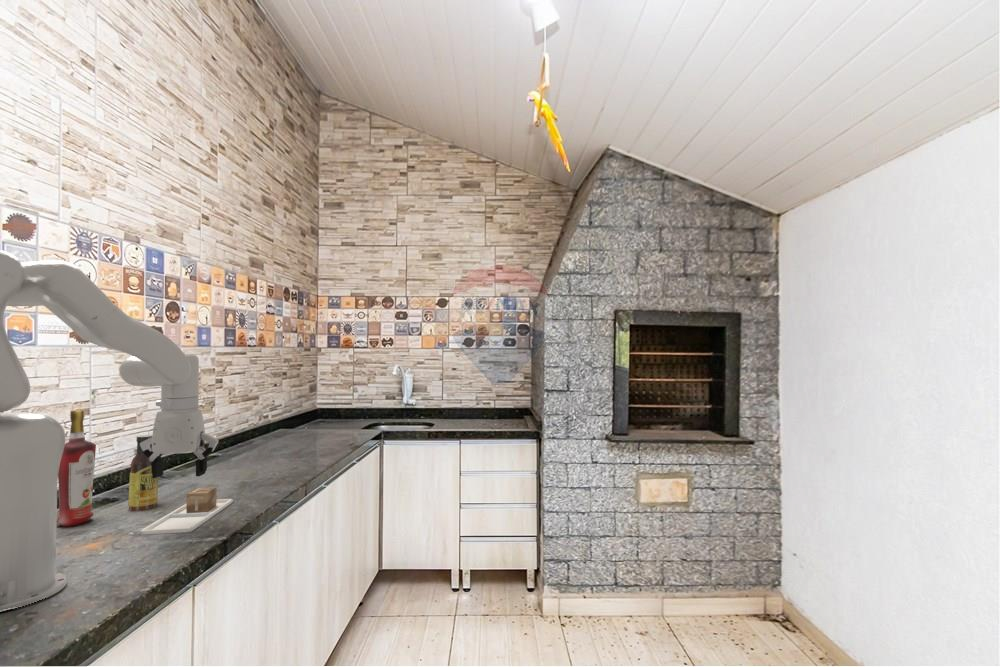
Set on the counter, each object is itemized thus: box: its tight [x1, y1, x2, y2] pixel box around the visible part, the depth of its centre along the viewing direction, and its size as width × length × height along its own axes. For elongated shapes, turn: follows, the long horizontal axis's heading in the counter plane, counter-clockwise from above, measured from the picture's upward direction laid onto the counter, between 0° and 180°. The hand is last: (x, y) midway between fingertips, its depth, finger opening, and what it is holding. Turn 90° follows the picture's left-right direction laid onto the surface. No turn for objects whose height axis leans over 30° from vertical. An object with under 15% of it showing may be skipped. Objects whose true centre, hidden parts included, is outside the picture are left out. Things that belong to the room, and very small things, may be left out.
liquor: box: [57, 409, 97, 527], centre depth 118 cm, size 7×7×28 cm
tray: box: [138, 498, 234, 536], centre depth 119 cm, size 22×11×2 cm, turn 7°
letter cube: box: [185, 486, 218, 513], centre depth 124 cm, size 5×5×5 cm
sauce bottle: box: [127, 434, 159, 512], centre depth 127 cm, size 7×6×20 cm
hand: (179, 475), depth 114 cm, fingers open, 9 cm apart
